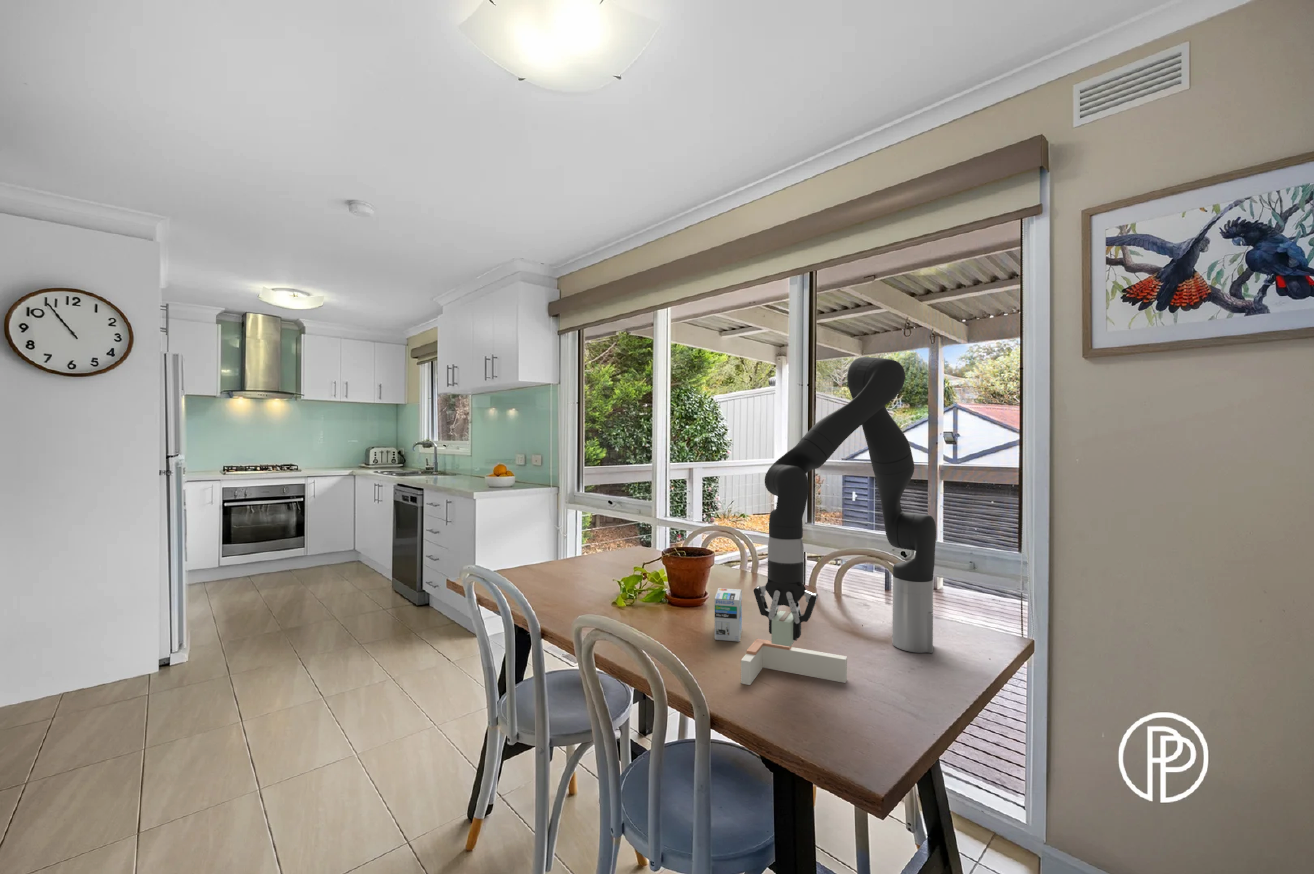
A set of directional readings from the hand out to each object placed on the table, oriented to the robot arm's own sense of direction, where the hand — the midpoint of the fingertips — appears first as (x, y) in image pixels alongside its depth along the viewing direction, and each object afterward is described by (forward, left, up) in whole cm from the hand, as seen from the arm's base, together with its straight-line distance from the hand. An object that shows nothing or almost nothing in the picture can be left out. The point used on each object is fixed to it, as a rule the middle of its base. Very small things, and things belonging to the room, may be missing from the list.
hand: (785, 637), depth 123 cm
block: (0, 0, -1) cm, 1 cm away
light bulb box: (+20, -22, -10) cm, 31 cm away
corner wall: (-2, -1, -9) cm, 10 cm away
